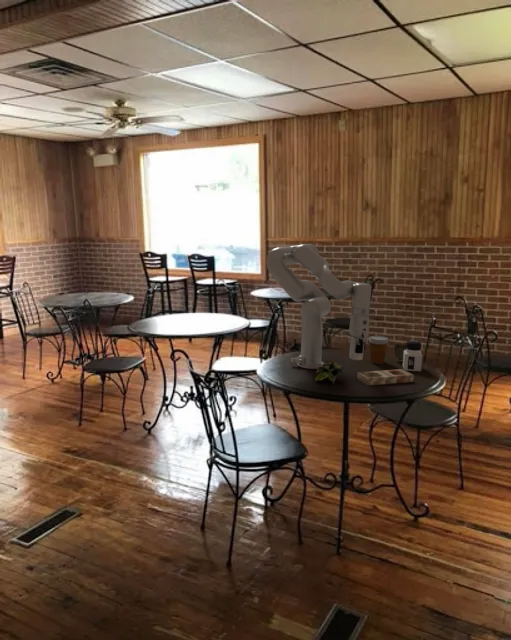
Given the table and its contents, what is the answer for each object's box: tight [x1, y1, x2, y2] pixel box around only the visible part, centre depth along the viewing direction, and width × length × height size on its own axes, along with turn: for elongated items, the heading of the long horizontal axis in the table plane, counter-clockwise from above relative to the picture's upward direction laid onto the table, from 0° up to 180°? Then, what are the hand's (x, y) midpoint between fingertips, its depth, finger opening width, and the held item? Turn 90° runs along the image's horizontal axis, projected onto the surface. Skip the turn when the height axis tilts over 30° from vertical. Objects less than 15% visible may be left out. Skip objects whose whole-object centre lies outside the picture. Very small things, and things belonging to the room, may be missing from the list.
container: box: [402, 340, 423, 372], centre depth 246 cm, size 8×8×13 cm
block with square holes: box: [356, 368, 415, 386], centre depth 228 cm, size 22×9×3 cm, turn 108°
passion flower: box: [314, 359, 345, 385], centre depth 224 cm, size 11×11×12 cm
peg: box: [348, 336, 365, 361], centre depth 236 cm, size 4×4×10 cm
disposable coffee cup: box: [368, 335, 389, 365], centre depth 256 cm, size 10×10×12 cm
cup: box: [393, 343, 406, 363], centre depth 258 cm, size 8×7×8 cm
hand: (356, 351), depth 236 cm, fingers closed on peg, 4 cm apart
